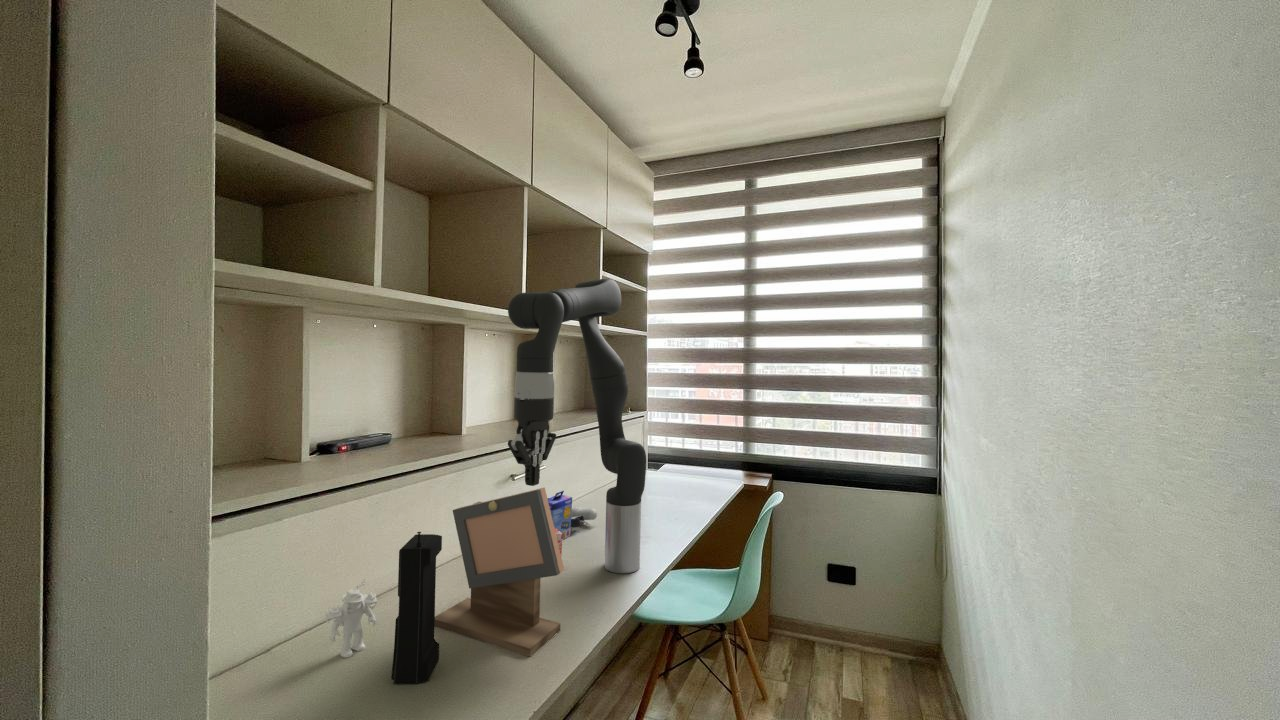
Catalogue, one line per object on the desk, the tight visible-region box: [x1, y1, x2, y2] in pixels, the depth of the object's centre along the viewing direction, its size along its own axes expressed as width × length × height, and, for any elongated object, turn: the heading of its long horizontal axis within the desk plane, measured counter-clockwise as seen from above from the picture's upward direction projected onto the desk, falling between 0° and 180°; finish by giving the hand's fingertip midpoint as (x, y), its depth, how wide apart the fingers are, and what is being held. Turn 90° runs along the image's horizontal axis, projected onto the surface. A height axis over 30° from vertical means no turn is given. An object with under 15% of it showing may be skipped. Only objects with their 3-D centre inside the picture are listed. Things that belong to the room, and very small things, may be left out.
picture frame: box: [452, 487, 565, 590], centre depth 102 cm, size 3×22×16 cm, turn 66°
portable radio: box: [390, 531, 443, 685], centre depth 89 cm, size 8×6×25 cm
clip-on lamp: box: [571, 506, 598, 528], centre depth 168 cm, size 12×6×18 cm
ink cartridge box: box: [547, 490, 573, 541], centre depth 154 cm, size 10×6×14 cm, turn 151°
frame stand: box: [434, 501, 561, 657], centre depth 103 cm, size 10×24×24 cm, turn 66°
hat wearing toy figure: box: [324, 578, 378, 658], centre depth 94 cm, size 9×4×12 cm, turn 147°
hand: (532, 484), depth 100 cm, fingers closed
